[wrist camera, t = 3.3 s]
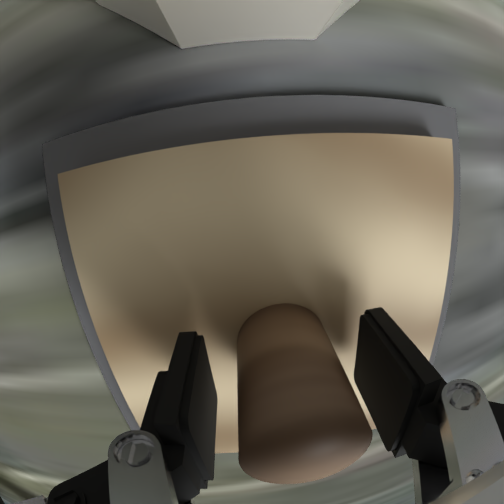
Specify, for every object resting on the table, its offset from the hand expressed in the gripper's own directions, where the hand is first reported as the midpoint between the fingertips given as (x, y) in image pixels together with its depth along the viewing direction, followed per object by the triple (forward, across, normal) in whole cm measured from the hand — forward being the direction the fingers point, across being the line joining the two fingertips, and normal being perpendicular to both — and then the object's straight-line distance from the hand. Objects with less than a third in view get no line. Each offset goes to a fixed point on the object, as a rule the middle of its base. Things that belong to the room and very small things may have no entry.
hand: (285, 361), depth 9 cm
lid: (+2, 0, 0) cm, 2 cm away
